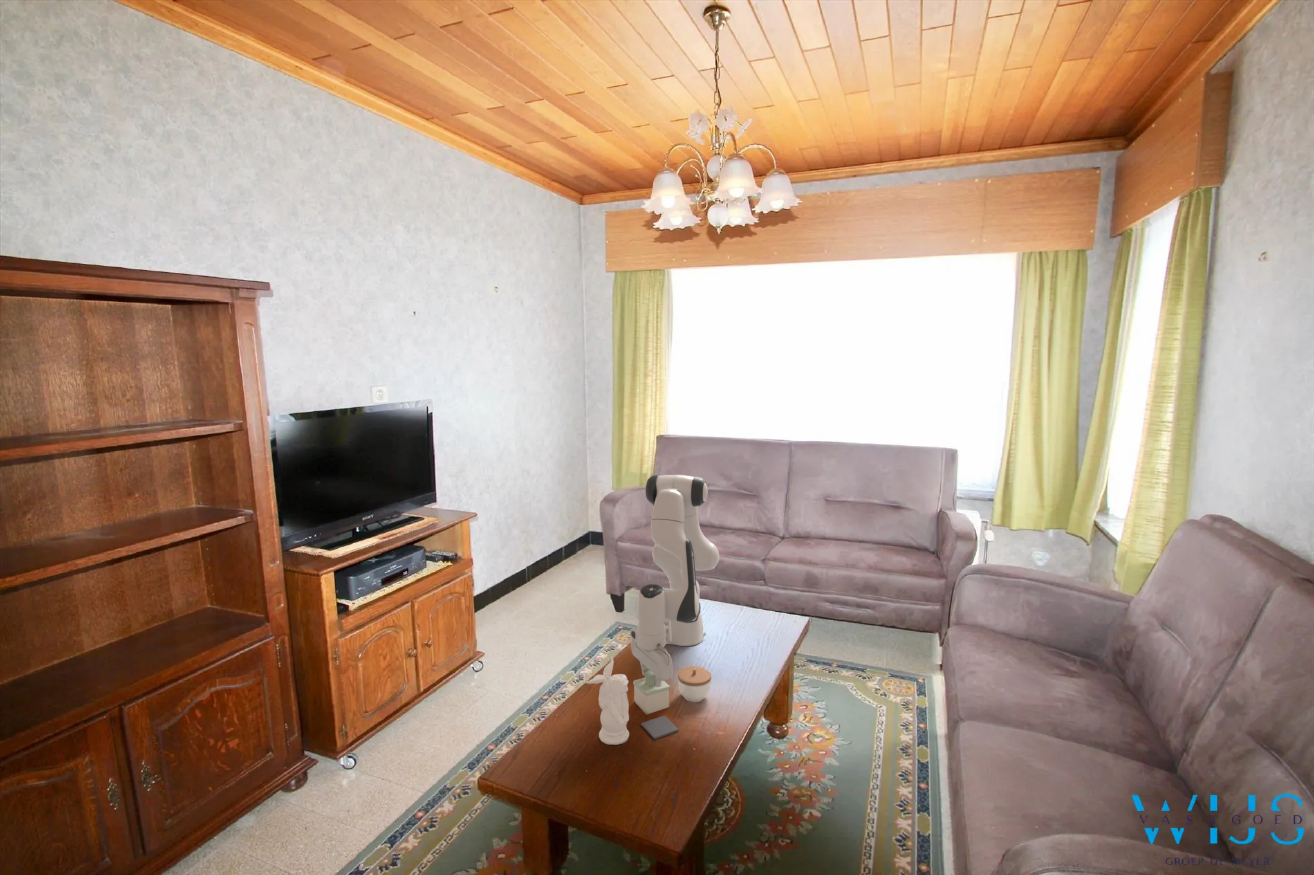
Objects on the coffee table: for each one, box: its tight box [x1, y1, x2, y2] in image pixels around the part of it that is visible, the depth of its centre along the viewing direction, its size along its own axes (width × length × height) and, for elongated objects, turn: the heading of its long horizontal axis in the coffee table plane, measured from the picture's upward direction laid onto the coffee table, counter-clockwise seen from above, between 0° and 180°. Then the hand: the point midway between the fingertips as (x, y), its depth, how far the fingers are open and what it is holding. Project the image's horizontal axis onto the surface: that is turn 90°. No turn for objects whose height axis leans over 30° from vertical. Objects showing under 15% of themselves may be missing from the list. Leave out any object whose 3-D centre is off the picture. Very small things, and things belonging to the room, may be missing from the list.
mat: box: [640, 715, 679, 740], centre depth 179 cm, size 8×8×1 cm
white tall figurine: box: [584, 655, 630, 746], centre depth 174 cm, size 12×12×22 cm
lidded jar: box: [677, 665, 712, 703], centre depth 195 cm, size 11×11×9 cm
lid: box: [632, 670, 671, 696], centre depth 191 cm, size 8×8×4 cm
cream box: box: [633, 684, 670, 715], centre depth 191 cm, size 8×8×6 cm
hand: (651, 680), depth 191 cm, fingers open, 6 cm apart
